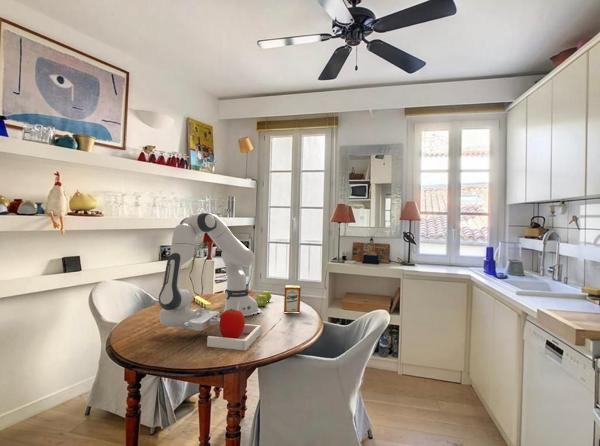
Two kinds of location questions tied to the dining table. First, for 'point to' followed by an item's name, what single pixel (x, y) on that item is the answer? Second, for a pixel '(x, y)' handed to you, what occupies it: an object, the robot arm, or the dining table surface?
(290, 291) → the baking soda box
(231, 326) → the red apple
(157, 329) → the dining table surface
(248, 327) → the white tray
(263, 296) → the dumbbell
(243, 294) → the robot arm
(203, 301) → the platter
